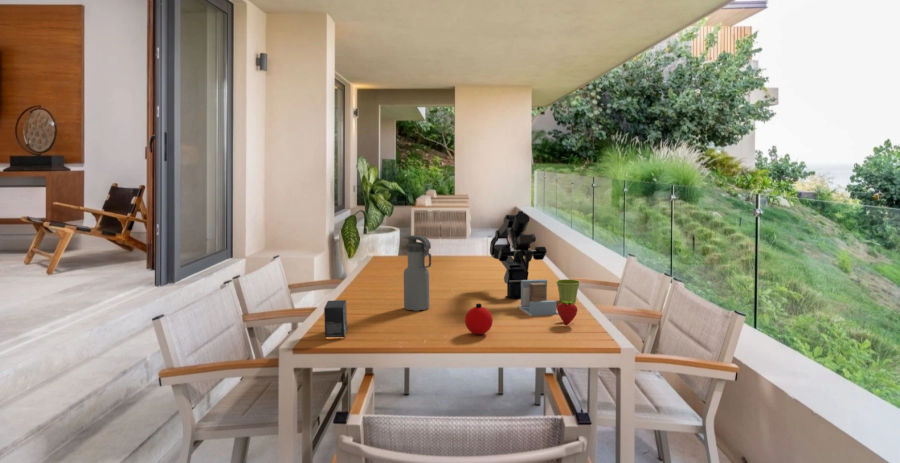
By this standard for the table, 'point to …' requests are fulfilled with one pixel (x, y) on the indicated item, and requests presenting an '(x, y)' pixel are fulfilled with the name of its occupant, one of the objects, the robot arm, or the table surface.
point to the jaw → (526, 290)
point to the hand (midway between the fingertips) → (526, 270)
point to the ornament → (478, 320)
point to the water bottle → (417, 274)
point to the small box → (335, 318)
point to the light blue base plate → (526, 310)
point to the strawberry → (567, 311)
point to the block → (537, 292)
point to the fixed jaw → (542, 307)
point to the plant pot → (568, 289)
